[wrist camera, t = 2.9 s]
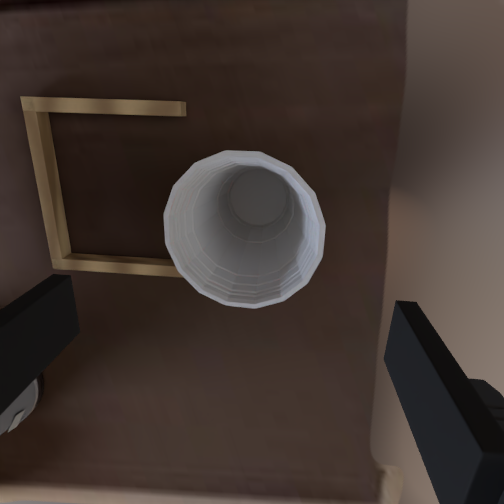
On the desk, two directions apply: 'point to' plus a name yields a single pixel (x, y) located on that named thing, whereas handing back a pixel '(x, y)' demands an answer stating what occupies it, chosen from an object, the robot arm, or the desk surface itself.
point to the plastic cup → (244, 229)
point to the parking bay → (51, 188)
